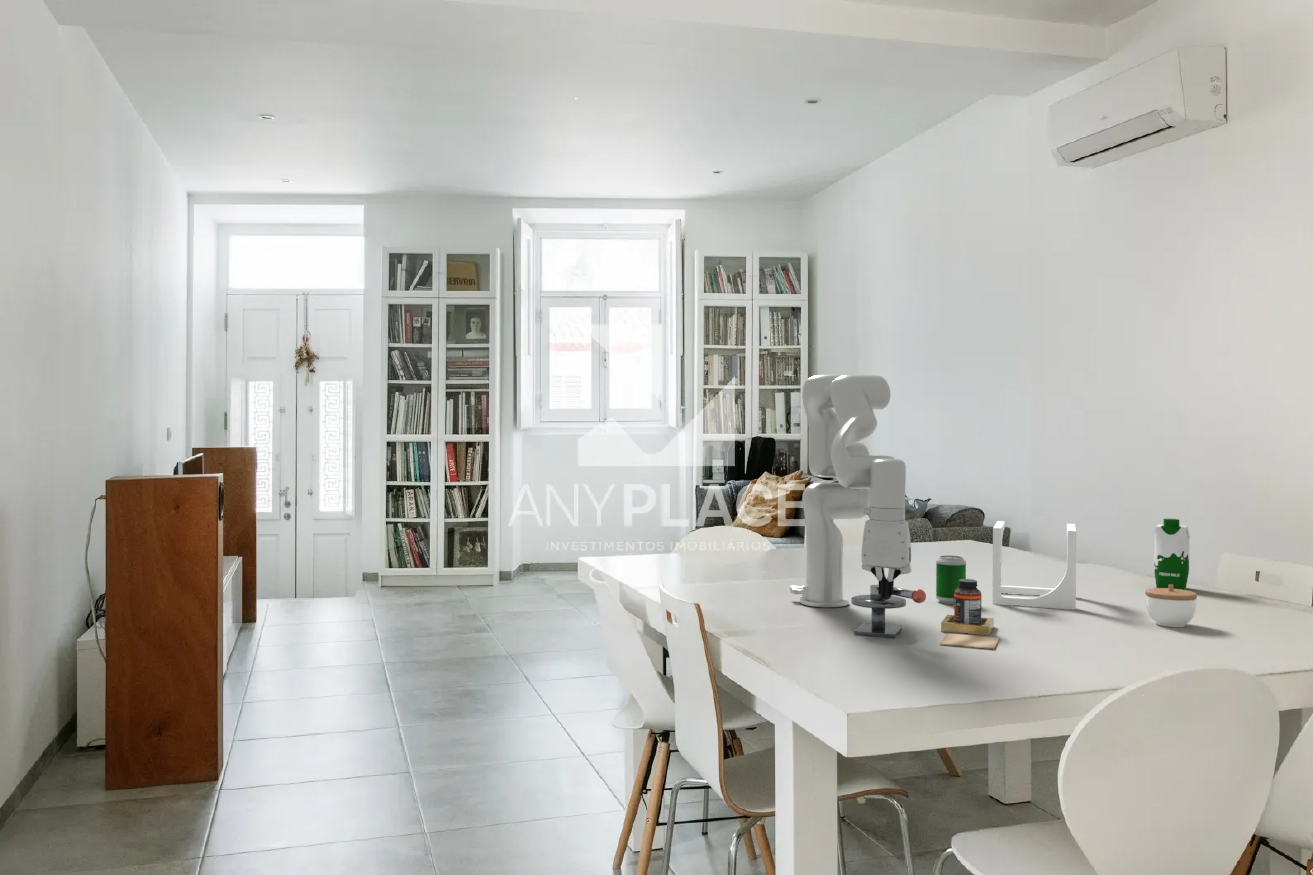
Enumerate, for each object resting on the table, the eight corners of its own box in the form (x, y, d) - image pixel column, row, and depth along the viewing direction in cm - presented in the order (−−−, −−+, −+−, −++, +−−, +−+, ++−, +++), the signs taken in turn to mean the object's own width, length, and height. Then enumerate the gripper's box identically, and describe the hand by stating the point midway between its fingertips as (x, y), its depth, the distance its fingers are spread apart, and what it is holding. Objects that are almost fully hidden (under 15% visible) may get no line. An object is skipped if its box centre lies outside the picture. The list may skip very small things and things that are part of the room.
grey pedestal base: (854, 634, 220) (854, 607, 219) (862, 626, 228) (862, 601, 228) (894, 638, 216) (895, 610, 216) (902, 630, 224) (902, 604, 224)
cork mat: (939, 645, 209) (939, 643, 209) (946, 635, 219) (946, 633, 219) (994, 649, 205) (994, 648, 205) (998, 639, 215) (998, 637, 215)
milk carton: (1152, 589, 281) (1153, 519, 281) (1156, 584, 289) (1156, 516, 288) (1187, 591, 276) (1188, 520, 276) (1190, 587, 284) (1190, 518, 284)
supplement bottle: (950, 626, 228) (950, 578, 228) (974, 626, 229) (975, 577, 229) (960, 632, 222) (960, 582, 222) (985, 631, 223) (985, 581, 223)
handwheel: (840, 602, 224) (840, 580, 224) (878, 597, 230) (878, 575, 230) (904, 616, 207) (904, 592, 207) (943, 610, 214) (943, 587, 213)
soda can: (967, 605, 255) (967, 559, 255) (937, 604, 257) (937, 558, 257) (964, 600, 263) (964, 555, 263) (935, 599, 264) (935, 554, 264)
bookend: (992, 604, 257) (993, 528, 257) (996, 592, 276) (997, 521, 276) (1075, 609, 250) (1076, 531, 250) (1074, 597, 268) (1074, 523, 268)
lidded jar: (1192, 621, 234) (1192, 582, 234) (1200, 630, 224) (1201, 589, 224) (1142, 618, 238) (1142, 580, 238) (1148, 627, 228) (1149, 587, 228)
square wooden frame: (941, 631, 223) (941, 622, 223) (947, 623, 232) (947, 614, 232) (989, 635, 219) (989, 626, 219) (993, 626, 228) (993, 618, 228)
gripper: (849, 514, 215) (847, 598, 216) (918, 519, 209) (916, 604, 209) (858, 511, 222) (856, 591, 223) (925, 515, 215) (923, 598, 216)
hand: (885, 598), depth 216 cm, fingers closed
